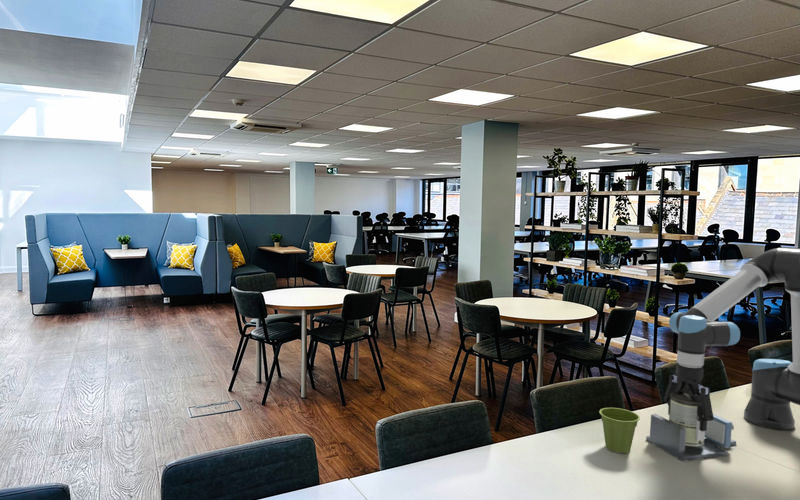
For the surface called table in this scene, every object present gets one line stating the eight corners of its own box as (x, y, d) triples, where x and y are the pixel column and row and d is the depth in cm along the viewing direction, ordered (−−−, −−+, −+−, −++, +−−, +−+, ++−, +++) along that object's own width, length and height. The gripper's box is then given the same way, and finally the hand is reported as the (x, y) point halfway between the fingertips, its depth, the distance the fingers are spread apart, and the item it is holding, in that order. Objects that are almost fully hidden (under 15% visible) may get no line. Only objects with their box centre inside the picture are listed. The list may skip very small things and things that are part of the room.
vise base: (711, 432, 175) (713, 406, 175) (751, 452, 161) (753, 424, 160) (646, 439, 168) (647, 412, 168) (682, 461, 154) (684, 431, 153)
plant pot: (637, 445, 164) (639, 411, 163) (638, 460, 153) (640, 424, 153) (598, 437, 169) (600, 404, 168) (596, 452, 158) (598, 417, 158)
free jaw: (715, 431, 173) (717, 408, 173) (745, 445, 163) (746, 420, 162) (695, 433, 171) (696, 410, 170) (723, 447, 160) (725, 423, 160)
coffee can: (663, 431, 169) (665, 390, 168) (697, 434, 167) (699, 392, 166) (673, 444, 159) (675, 400, 158) (709, 448, 157) (712, 404, 156)
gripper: (731, 374, 152) (726, 447, 153) (672, 354, 173) (668, 418, 175) (711, 376, 150) (706, 449, 151) (653, 355, 171) (650, 420, 173)
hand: (685, 432), depth 163 cm, fingers closed on coffee can, 10 cm apart
